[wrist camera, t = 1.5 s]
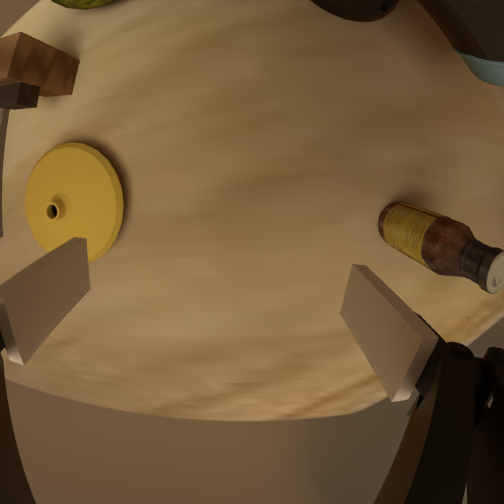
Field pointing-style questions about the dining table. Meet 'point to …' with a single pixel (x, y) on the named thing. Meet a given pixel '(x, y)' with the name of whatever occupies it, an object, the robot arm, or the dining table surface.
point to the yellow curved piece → (74, 199)
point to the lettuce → (82, 3)
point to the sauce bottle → (442, 245)
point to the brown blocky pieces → (2, 154)
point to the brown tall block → (33, 71)
